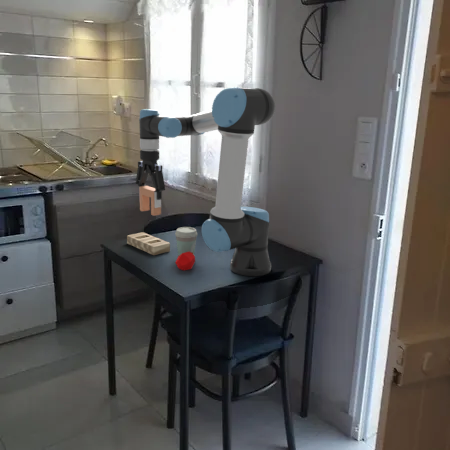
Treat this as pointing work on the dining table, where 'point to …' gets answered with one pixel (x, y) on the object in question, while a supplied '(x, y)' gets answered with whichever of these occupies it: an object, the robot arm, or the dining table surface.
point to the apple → (185, 261)
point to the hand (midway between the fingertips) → (150, 204)
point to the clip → (144, 200)
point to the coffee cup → (186, 239)
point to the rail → (148, 243)
